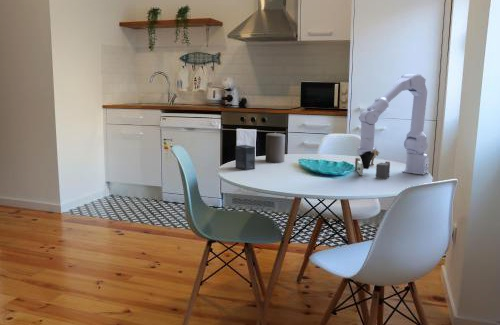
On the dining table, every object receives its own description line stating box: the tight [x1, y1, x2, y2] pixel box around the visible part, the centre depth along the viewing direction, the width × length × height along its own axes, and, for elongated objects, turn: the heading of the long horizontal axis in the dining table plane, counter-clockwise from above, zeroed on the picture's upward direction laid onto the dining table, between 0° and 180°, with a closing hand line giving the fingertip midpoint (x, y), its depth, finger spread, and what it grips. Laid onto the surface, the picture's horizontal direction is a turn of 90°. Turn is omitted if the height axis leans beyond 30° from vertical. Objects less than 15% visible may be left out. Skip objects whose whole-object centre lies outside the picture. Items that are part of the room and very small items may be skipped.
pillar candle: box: [265, 131, 286, 164], centre depth 236 cm, size 10×10×15 cm
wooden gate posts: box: [354, 157, 391, 172], centre depth 212 cm, size 16×2×6 cm, turn 54°
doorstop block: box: [375, 162, 391, 180], centre depth 201 cm, size 4×5×6 cm
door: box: [356, 160, 364, 176], centre depth 210 cm, size 10×2×4 cm, turn 176°
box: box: [235, 144, 256, 171], centre depth 218 cm, size 8×6×11 cm
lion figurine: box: [370, 149, 380, 166], centre depth 232 cm, size 15×5×9 cm, turn 7°
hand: (365, 168), depth 207 cm, fingers closed
